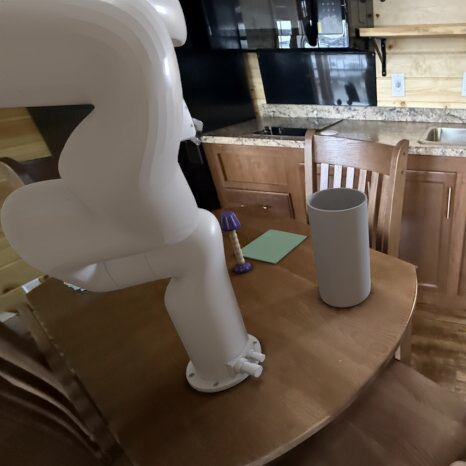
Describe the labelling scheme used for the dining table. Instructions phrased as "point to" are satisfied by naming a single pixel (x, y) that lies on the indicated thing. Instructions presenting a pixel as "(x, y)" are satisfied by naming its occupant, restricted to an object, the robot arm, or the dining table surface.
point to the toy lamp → (234, 239)
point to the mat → (272, 246)
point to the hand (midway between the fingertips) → (177, 169)
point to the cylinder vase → (340, 245)
